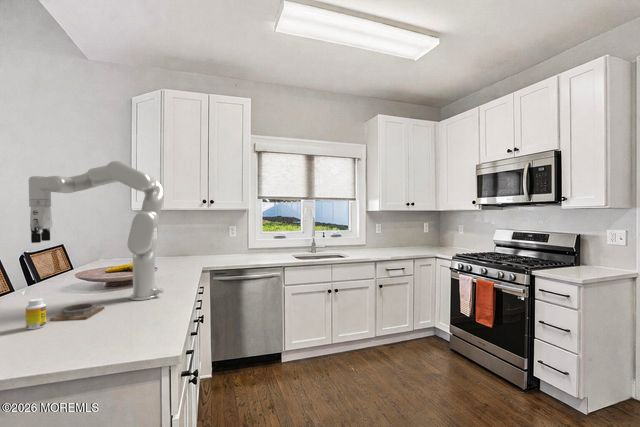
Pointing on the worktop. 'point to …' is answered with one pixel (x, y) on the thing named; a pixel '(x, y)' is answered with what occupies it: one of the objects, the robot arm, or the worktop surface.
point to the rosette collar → (77, 312)
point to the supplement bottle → (36, 314)
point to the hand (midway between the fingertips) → (41, 241)
